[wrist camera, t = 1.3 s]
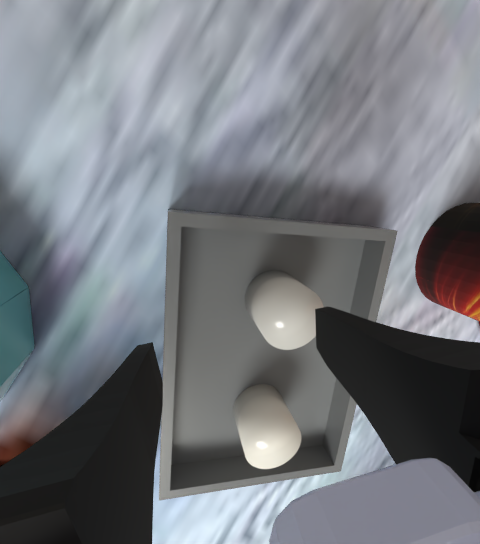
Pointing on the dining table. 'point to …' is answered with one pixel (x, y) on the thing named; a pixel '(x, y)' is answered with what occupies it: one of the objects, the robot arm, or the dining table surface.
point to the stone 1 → (282, 309)
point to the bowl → (13, 325)
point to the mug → (452, 261)
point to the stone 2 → (265, 427)
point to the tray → (254, 342)
